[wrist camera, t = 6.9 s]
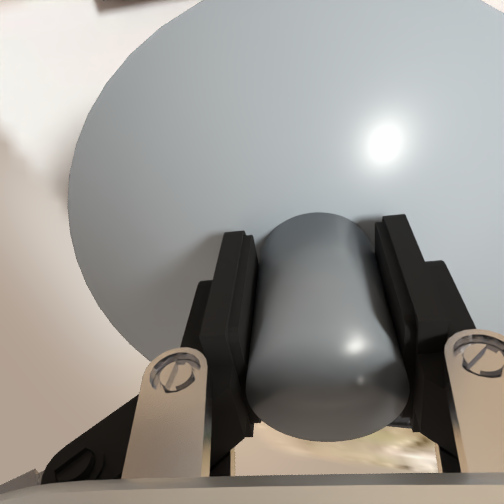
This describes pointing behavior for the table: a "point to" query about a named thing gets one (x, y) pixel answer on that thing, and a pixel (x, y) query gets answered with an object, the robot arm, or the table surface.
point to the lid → (298, 186)
